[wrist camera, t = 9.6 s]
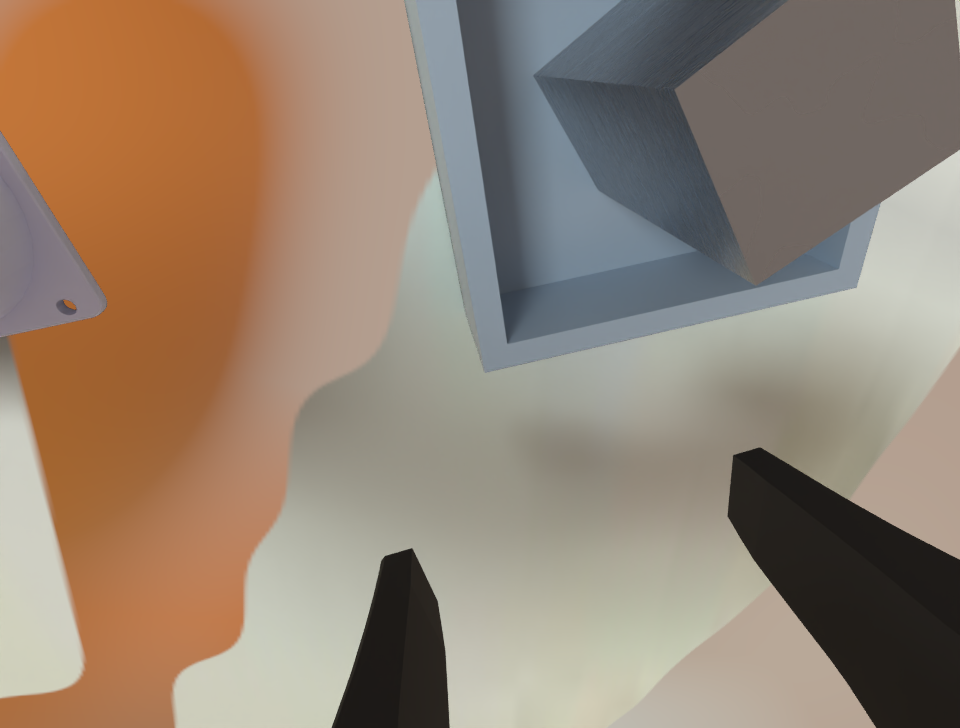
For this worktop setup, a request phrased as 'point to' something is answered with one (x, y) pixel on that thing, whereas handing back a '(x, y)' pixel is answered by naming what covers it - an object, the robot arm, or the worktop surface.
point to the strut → (759, 115)
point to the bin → (564, 201)
